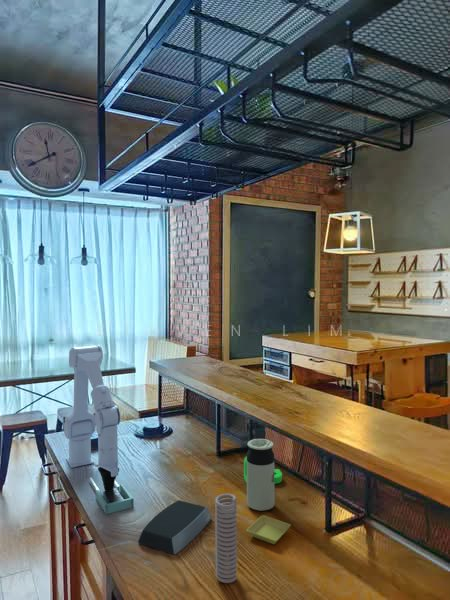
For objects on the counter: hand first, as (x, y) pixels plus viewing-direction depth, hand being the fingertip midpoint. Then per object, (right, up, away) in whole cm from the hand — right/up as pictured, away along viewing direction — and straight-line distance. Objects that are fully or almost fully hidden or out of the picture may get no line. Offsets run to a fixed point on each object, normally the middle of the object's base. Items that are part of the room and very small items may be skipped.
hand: (108, 490), depth 132 cm
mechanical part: (+48, -1, +9) cm, 49 cm away
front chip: (+3, -2, -6) cm, 7 cm away
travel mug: (+46, -1, -7) cm, 46 cm away
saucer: (+47, -2, -21) cm, 52 cm away
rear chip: (+1, -2, -2) cm, 3 cm away
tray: (+3, -1, -5) cm, 6 cm away
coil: (+36, -3, -38) cm, 52 cm away
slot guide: (-3, -1, +5) cm, 5 cm away
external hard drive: (+23, -2, -19) cm, 30 cm away
